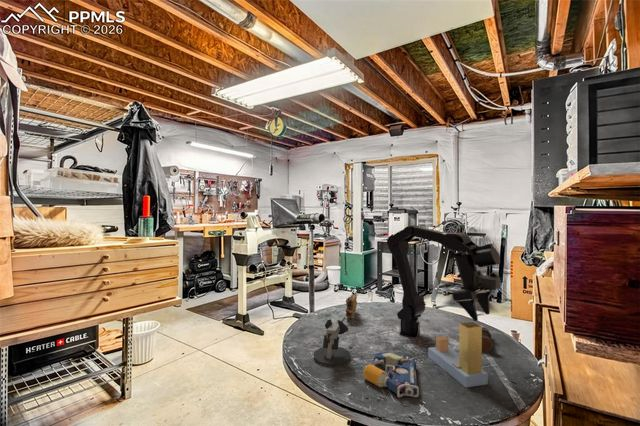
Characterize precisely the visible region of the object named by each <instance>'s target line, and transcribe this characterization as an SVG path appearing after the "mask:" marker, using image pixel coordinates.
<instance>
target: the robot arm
mask: <svg viewBox="0 0 640 426" xmlns="http://www.w3.org/2000/svg"><path fill="white" fill-rule="evenodd" d="M414 238H419V239H423V240H427V241H430V242H434V243H435V242H436V243H437V244H440V245H442V246H443V247H445V248H447V249H449V250H451V251H450V253H449V256H448V257H447V259H448V260H450V259H451V260H452V259H454V261H455V265H456V268H457V271H458V274H457V275H456V276H457V279H460V281H461V285H462V286H460V289H457V290H455V291H453V293H452V294H451V296H452V300H453V302H456V303H457V304H459V305H460V306H461V307H462V308H463V309H464V311H466V313H467V314H468V315H469V316H470V318H471V319H472V320H473V321H474V322H477V321H479V319H478V311H477V306H476V303H478V304H479V306H480V308H481V310H482V311H483V312H484V314H486V315H490V297H491V295H492V294H493V293H494V291H497V289H500V287H501V286H500V284H501V283H502V280H501V277H500V275H499V274H498V273H497V272H491V273H490V274H489V275H487V274H486V275H485V274H482V271H481V270H480V269H479V270H478V269H477V266H478V267H479V268H486V267H491V266H496V265H500V264H501V255H500V253H499V252H498V250H497V248H495V246H494V245H493V243H487V244H484V245H480V246H479V245H478V244H477V243H475V242H474V241H473V240H471V238H470V237H469V235H468V233H467V234H466V233H465V232H443V231H440V230H434V229H431V228H427V227H422V226H418V225H416V224H414V225H413V224H412V225H407V226H406V227H404V228H403V229H401V230H399V231H397V232H396V233H395V234H393V235H389V236H388V238H387V240H386V245H387V248H388V250H389V252H390V254H391V255H392V256H393V257H394V260H395V263H396V267H397V271H398V275H399V280H400V283H401V287H402V288H401V289H402V291H403V295H402V300H401V304H402V308H401V309H400V310H399V311H398V312H396V316H397V319H398V320H400V331H399V336H400V335H401V336H405V337H410V338H417V337H418V336H419V334H421V323H420V322H419V318H421V316H422V315H423V314H424V312H425V310H426V306H427V304H426V302H425V298H424V295H423V294H421V295H420V293H418V291H417V288H416V284H415V282H414V276H413V273H412V269H411V265H410V262H409V257H408V253H409V249H410V248H409V247H410V246H409V243H410V242H411V241H412V240H413V239H414ZM467 252H470V253H467Z"/></svg>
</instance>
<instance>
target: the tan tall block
mask: <svg viewBox="0 0 640 426" xmlns="http://www.w3.org/2000/svg"><path fill="white" fill-rule="evenodd" d="M458 325H459V334H458V335H459V337H458V338H459V341H458V342H459V343H458V345H459V347H458V349H459V351H458V352H459V353H458V354H459V368H460V369H461V370H462V371H464V372H465V373H466V374H468V375H469V374H476V373H482V370H483V366H482V364H483V363H482V362H483V360H482V359H483V358H482V357H483V356H482V355H483V352H482V328H483V327H482V326H481V325H479V324H478V323H476V322H475V321H474V322H473V321H471V322H470V321H469V322H460V323H458Z"/></svg>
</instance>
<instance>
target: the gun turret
mask: <svg viewBox="0 0 640 426" xmlns="http://www.w3.org/2000/svg"><path fill="white" fill-rule="evenodd" d="M346 319H347V317H346V315H344V316H343V317H342V318H341V320H339V319H338V320H337V323H334V322H332V319H331V318H329V319H327V320H326V323H325V324H324V328H325V329H326V330H325V331H326V334H324V335H323V342H322V343H323V344H322V347H319V348H318V349H316V350H314V351H313V361H314V360H315V361H314V362H316V361H317V362H318V363H319V364H318V363H317V362H316V363H317V364H318V365H320V364H321V365H320V366H323V365H326V366H325V367H329V366H332V367H331V368H335V367H334V366H336V367H341V365H342V366H345V365H346V364H348V363H349V362H350V361H351V352H350V350H347V349H345V348H344V347H341V346H339V345H340V344H339V343H340V342H339V341H340V337H339V335H343V334H345V333H347V332H348V331H349V327H348V326H347V325H346V324H345V323H344V321H346Z"/></svg>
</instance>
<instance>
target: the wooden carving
mask: <svg viewBox="0 0 640 426" xmlns="http://www.w3.org/2000/svg"><path fill="white" fill-rule="evenodd" d="M357 298H358V295H357V294H355V293H353V294H351V295H350V296H348V297H347V298H346V300H345V304H346V305H345V306H346V308H345V318H350V319H353V318H354V317H355V313H356V310H357V303H358V301H357ZM353 316H354V317H353Z"/></svg>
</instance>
